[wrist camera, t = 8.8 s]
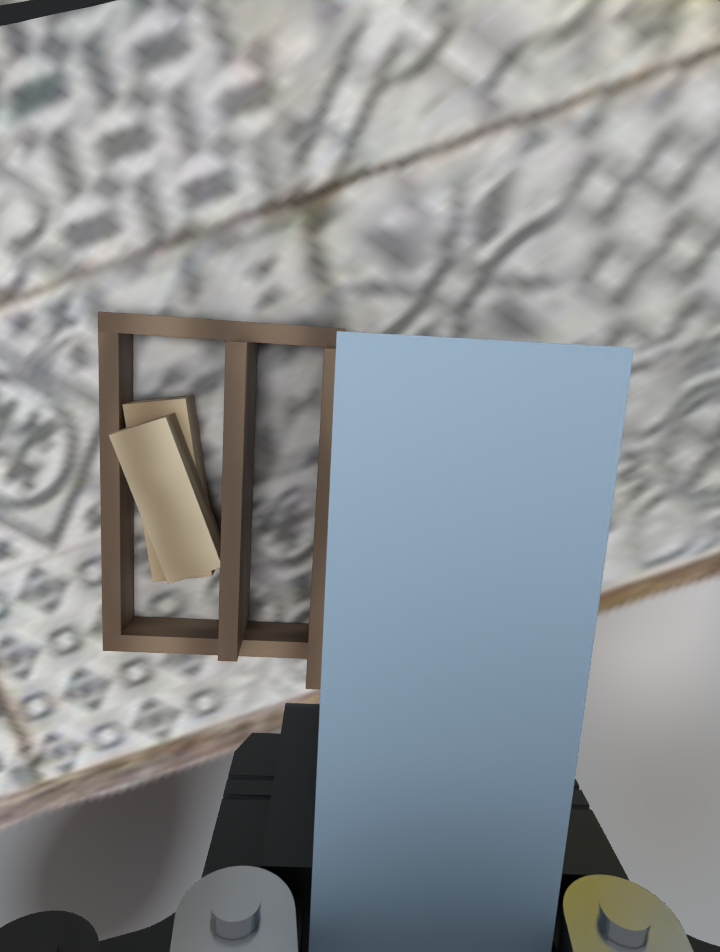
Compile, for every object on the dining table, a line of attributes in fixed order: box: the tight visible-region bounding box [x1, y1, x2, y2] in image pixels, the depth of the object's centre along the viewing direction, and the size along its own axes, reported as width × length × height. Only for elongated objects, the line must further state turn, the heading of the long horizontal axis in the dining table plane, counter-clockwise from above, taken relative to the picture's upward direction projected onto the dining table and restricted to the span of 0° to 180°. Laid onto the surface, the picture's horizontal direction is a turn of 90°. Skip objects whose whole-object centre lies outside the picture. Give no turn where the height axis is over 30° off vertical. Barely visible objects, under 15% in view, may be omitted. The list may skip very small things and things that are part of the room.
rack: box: [98, 312, 346, 689], centre depth 41 cm, size 15×22×9 cm
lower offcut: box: [123, 395, 215, 582], centre depth 44 cm, size 4×12×3 cm, turn 5°
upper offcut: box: [109, 413, 221, 584], centre depth 41 cm, size 4×10×2 cm, turn 17°
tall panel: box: [309, 331, 634, 952], centre depth 15 cm, size 2×14×16 cm, turn 177°
